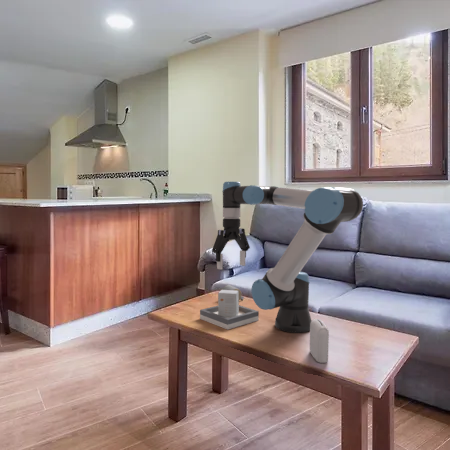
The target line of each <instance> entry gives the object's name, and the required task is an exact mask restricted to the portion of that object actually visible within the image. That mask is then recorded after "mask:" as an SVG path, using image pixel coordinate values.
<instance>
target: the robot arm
mask: <svg viewBox="0 0 450 450" xmlns="http://www.w3.org/2000/svg"><path fill="white" fill-rule="evenodd" d="M241 205H252V206H253V205H254V206H255V205H271V206H272V205H274V206H280V207H282V206H283V207H288V208H295V209H303V210H304V212H303V215H302V216H303V217H302V218H303V219H304V221H303V222H302V225H301V226H300V227H299V229H298V230H297V232H296V234H295V235H294V237H293V238H292V240H291V241H290V243H289V244H288V246H287V248H286V249H285V251H284V252H283V254H282V256H281V257H280V259H279V260H278V261H277V263H276V264H275V266H274V267H270V268H269V269H268V270H267V271H266V272H265V274H264V275H263V277H262V278H258V279H257V280H255V281H254V282H253V283H252V285H251V296H252V297H251V298H252V300H253V301H254V302H253V303H255V305H256V306H257V307H258V308H260V309H261V310H263V311H267V310H273V309H277V308H278V311H277V313H276V317H275V320H274V326H275V327H276V329H277V330H280V331H283V332H287V333H293V334H294V333H295V334H298V333H300V334H301V333H306V332H310V323H311V321H312V320H313V319H312V318H311V314H310V310H309V301H310V300H309V295H310V294H309V293H310V276H309V274H308V273H307V272H304V271H302V270H303V268H304V267H305V266H306V264H307V263H308V261H309V260H310V259H311V257H312V255H313V254H314V252H316V250H317V249H318V247H319V245H320V244H321V243H322V242H323V240H324V239H325V237H326V235H327V236H328V235H332V234H333V233H335V231H336V229H337V228H338V227H339V225H340V224H341V223H344V222H347V223H348V222H352V221H354V220H356V219H357V218H358V217H359V216H360V214H361V213H362V211H363V207H364V201H363V198H362V196H361V195H360V194H359V192H358V191H356V190H355V189H353V188H349V187H334V186H323V187H317V188H316V189H314V190H313V189H303V188H290V187H278V186H275V185H274V186H267V185H265V186H263V185H255V184H254V185H252V184H251V185H242V186H241V182H240V181H224V182H223V184H222V218H223V219H222V227H223V229H218V230H217V236H216V239H215V241H214V244H213V247H212V250H211V252H212V253H213V254H215V262H216V269H217V270H223V269H224V267H223V262H224V261H223V260H224V259H223V258H224V256H223V253H222V252H223V251H224V249H225V247H226V246H227V244H228V242H229V241H232V240H233V241H235V242H236V244H237V246H239V248H240V250H239V265H240V266H243V267H244V266H245V267H246V258H247V252H248V251H249V249H251V248H250V244H249V241H248V239H247V235H246V232H245V231H246V230H245V228H242V227H241ZM240 227H241V228H240Z"/></svg>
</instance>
